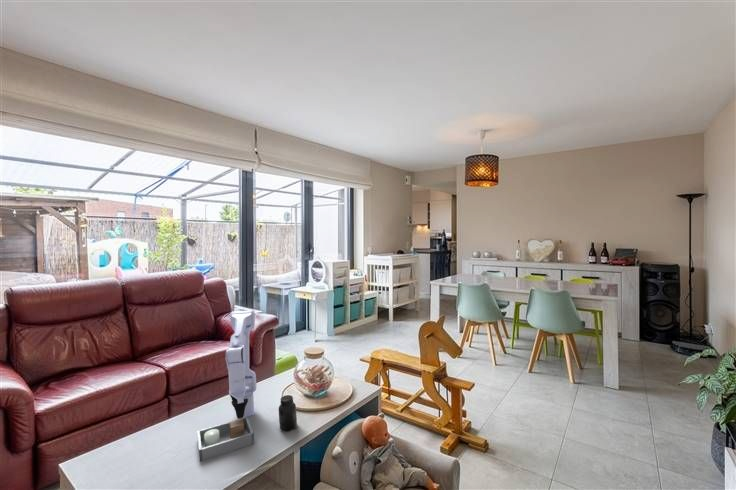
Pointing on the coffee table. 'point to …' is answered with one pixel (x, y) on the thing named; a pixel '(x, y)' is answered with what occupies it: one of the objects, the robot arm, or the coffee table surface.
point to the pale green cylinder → (211, 437)
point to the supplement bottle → (287, 414)
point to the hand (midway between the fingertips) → (238, 412)
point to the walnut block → (236, 428)
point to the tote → (224, 440)
